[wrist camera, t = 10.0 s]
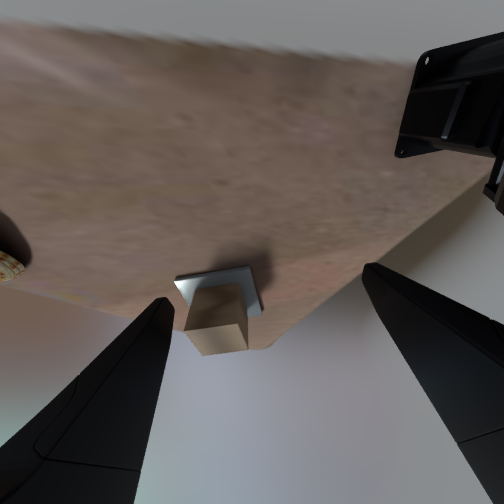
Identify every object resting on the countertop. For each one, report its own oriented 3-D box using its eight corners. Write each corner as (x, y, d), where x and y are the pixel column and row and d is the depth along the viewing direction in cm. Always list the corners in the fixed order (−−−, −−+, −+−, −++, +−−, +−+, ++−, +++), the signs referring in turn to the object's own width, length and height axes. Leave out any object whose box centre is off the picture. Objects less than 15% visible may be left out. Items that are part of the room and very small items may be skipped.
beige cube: (238, 282, 24) (237, 323, 20) (247, 309, 28) (248, 349, 23) (195, 289, 25) (183, 331, 20) (209, 315, 28) (202, 355, 24)
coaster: (249, 265, 23) (249, 268, 23) (261, 311, 29) (262, 314, 29) (175, 278, 24) (174, 281, 24) (201, 320, 30) (201, 324, 30)
